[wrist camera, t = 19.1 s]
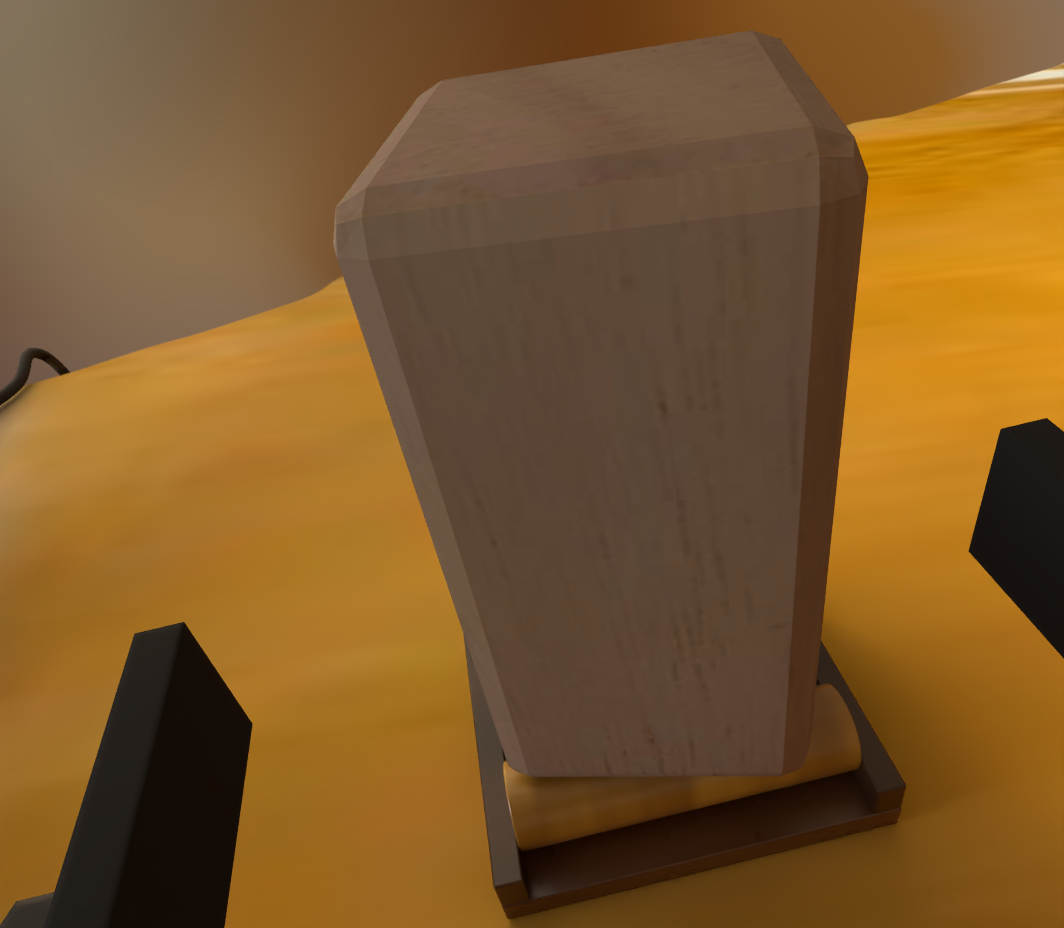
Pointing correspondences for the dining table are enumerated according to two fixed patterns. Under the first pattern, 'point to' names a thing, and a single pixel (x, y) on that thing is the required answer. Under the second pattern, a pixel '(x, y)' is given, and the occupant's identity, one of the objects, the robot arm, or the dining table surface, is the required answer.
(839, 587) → the dining table surface
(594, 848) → the brown tray
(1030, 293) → the dining table surface
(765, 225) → the block
